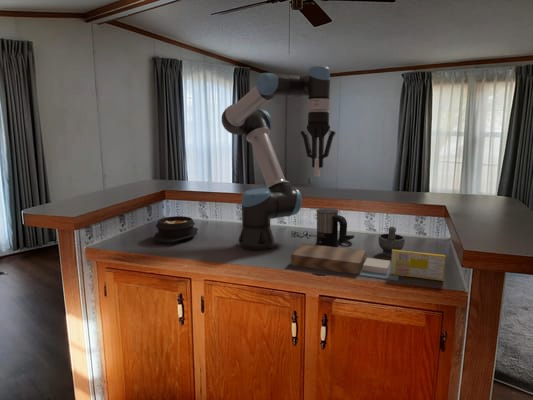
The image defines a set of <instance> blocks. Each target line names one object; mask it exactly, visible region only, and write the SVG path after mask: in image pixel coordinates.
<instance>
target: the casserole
mask: <svg viewBox="0 0 533 400" xmlns="http://www.w3.org/2000/svg"><path fill="white" fill-rule="evenodd" d="M195 224H196V222H194V220H193V218H192V217H191V216H181V215H178V216H177V215H175V216H168V217H167V216H166V217H163V218H160V219H158V221H157V222H156V225H155V227H156V228H157V232H155V234H154V236H153V237H152V238H151V240H152V241H154V242H158V243H175V242H180V241H185V240H188V239H190V238H193V237H195V236H196V235H197V234H198V230H199V229H198V227H194V226H195Z"/></svg>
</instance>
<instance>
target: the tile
mask: <svg viewBox="0 0 533 400" xmlns="http://www.w3.org/2000/svg"><path fill="white" fill-rule="evenodd" d="M390 262H391V260H388V259H386V260H385V259H381V258H380V259H379V258H373V257H372V258H371V257H366V258H365V263H364V264H363V268H362V269H363V271H369V272H376V273H383V274H388V271H389V268H390Z"/></svg>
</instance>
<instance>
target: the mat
mask: <svg viewBox="0 0 533 400" xmlns="http://www.w3.org/2000/svg"><path fill="white" fill-rule="evenodd" d="M390 268H391V261H390ZM390 268H389V271H388V274H383V273H376V272H369V271H363V268H362V270H361V272H360V274H359V276H360V277H365V278H366V277H368V278H374V279H380V280H381V279H382V280H388V281H394V282H395V281H396V282H398V281H399V279H400V278H399V277H400V275H393V274H390Z"/></svg>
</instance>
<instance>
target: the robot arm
mask: <svg viewBox="0 0 533 400" xmlns="http://www.w3.org/2000/svg"><path fill="white" fill-rule="evenodd" d="M257 77H258V78H257V79H256V85H255V86H254V87H253V88H252V89H250V91H248V93H246V94H245V95H244V96H243V97H241V98H240V99H239V100H238V101H236V103H234V104H231V105H229V106H227V107H226V108H225V109H224V111H223V112H222V114H221V124H222V126H223V128H224V129H225V130H226V131H227V132H228V133H230V134H231V135H232V134H233V135H236V136H237V135H238V136H241V135H243V136H244V137H245V139H246V141H247V143H250V144H251V146H252V149H253V152H254V154H255V157H256V159H257V160H256V161H257V162H258V165H259V169H260V172H261V173H262V177H263V178H264V179H263V180H264V182H265V185H266V187H260V188H258V187H256V188H251V189H248V190H246V191H244V192H243V193H242V194H241V202H240V203H241V224H242V225H241V231H240V235H239V236H238V240H237V241H238V242H237V243H238V248H240V249H242V250H247V251H264V250H269V249H272V248H274V247H275V245H276V243H275V237H274V233H273V231H272V228H271V219H273V220H274V219H280V218H286V217H287V218H288V217H291V216H295V215H297V214H298V213H299V212H300V210H301V208H302V203H303V198H302V194H301V191H300V190H299V189H298V188H295V187H293V186H292V183H291V182H290V181H289V180H286V178H285V176H284V173H283V170H282V167H281V165H280V162H279V159H278V157H277V154H276V151H275V150H274V146H273V144H272V142H271V139H270V134H271V131H272V129H273V124H272V123H273V121H272V117H271V115H270V113H269V112H268V111H266V110H265V109H261V108H263V107H264V106H265V105H266V104H268V103H269V102H271V101H272V100H273V99H274V98H276V97H277V96H281V97H285V96H287V97H292V98H302V97H307V98H308V99H307V106H308V109H307V111H308V113H307V126H306V128H305V129H304V130H301V131H300V134H301V137H302V138H303V143H304V147H305V152H306V157H308V158H311V167H312V168H314V174H313V175H314V177H315V178H317V177H318V178H319V177H321V168H323V167H324V159H325V158H327V157H329V155H330V150H331V147H332V143H333V139H334V137H335V135H336V134H337V132H336V130H333V129H332V128H331V126H330V112H328V111H330V92H331V91H330V90H331V88H330V87H331V86H330V85H331V70H330V68H329V66H325V65H314V66H311V67H309V68H308V74H304V75H297V74H296V75H294V74H284V73H274V72H262V73H260V74H259V75H258V76H257ZM309 134H310V136H311V143H310V139H309ZM327 134H328V137H327V140H326V141H327V142H326V145H325V137H326V135H327ZM310 144H311V145H310ZM324 145H325V147H324ZM324 148H325V149H324ZM317 154H318V155H317Z"/></svg>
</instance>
